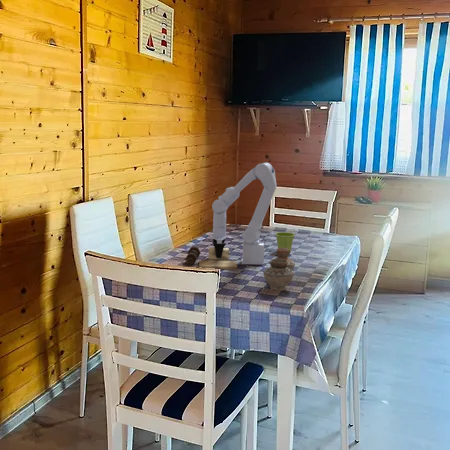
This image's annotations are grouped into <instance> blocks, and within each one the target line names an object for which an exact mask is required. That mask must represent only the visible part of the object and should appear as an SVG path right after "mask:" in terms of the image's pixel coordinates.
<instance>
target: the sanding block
mask: <svg viewBox="0 0 450 450" xmlns="http://www.w3.org/2000/svg"><path fill="white" fill-rule="evenodd" d="M207 260H212V261H230V248H229V247H224V248H223V252H222V257H221V258H216V252H215V247H213V246H212V247H210V246H209V247H208V259H207Z"/></svg>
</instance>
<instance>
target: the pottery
mask: <svg viewBox="0 0 450 450" xmlns="http://www.w3.org/2000/svg"><path fill="white" fill-rule="evenodd" d="M276 252H277V253H276V254H277V257H275V258H272V259H271V260H270V261H269V266H270V267H267V268H266V269H263V274H262V275H263V276H264V277H263V278H264V281H266V283H267V284H268V285H269V289H271V290H273V291H279V292H281V291H284V290H286V289H287V288H286V287H287V286H289V284H290V283H291V282H292V280H293V278H294V275H295V272H294V269H295V266H296V263H295V262H294V260H292V259H291V258H289V253H290V252H289V249H288V248H278V247H277V248H276Z"/></svg>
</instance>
